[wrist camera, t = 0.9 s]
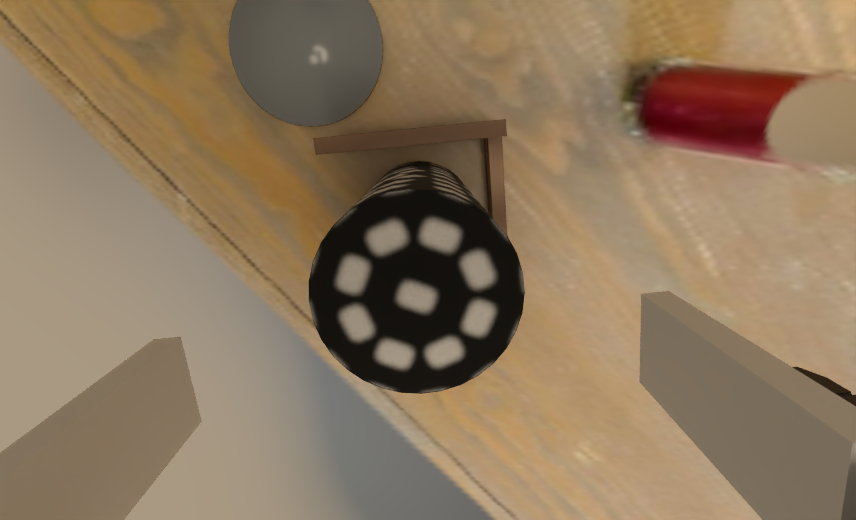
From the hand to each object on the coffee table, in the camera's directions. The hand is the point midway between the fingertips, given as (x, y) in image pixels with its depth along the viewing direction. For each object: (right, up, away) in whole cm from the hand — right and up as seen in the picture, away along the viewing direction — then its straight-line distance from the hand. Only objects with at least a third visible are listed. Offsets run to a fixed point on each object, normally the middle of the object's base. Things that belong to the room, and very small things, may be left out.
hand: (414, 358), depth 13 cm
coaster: (-8, +18, +21) cm, 29 cm away
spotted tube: (0, +7, +24) cm, 25 cm away
